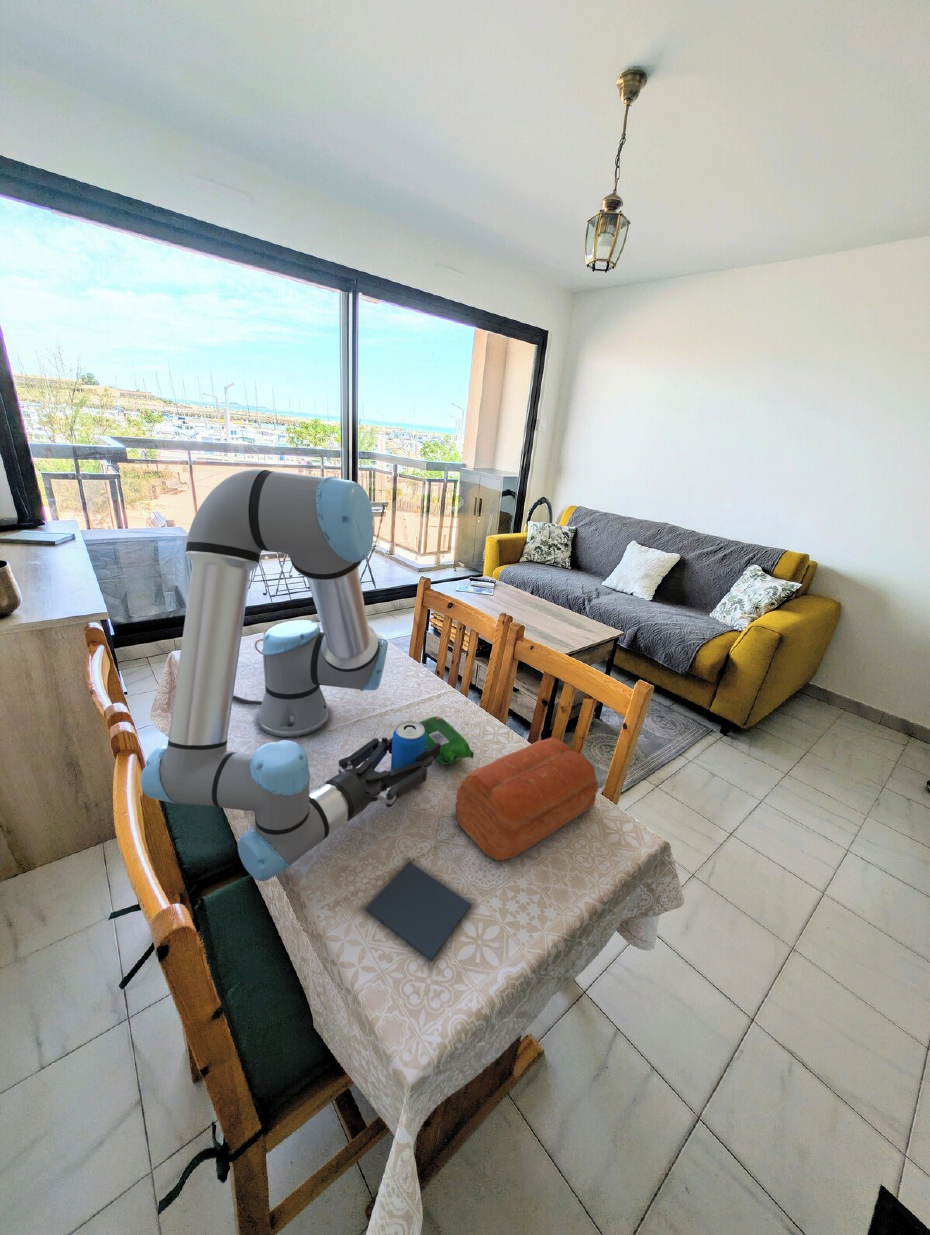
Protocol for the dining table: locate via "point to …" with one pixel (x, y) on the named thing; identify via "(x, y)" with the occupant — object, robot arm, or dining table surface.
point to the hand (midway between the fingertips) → (424, 741)
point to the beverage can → (407, 743)
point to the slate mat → (419, 909)
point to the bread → (525, 797)
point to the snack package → (445, 740)
